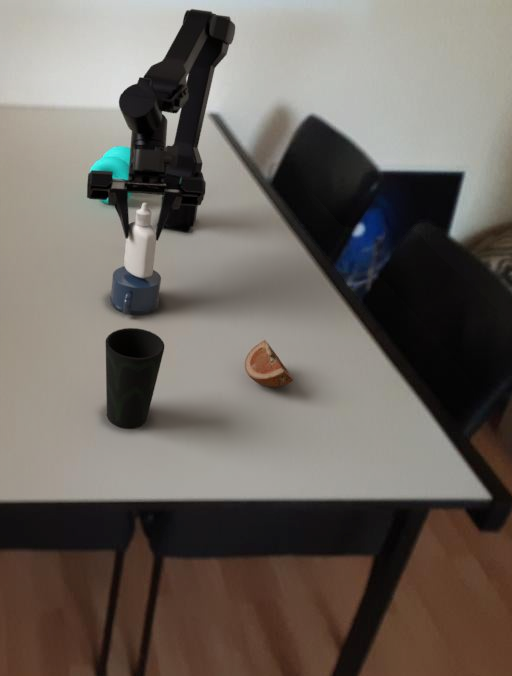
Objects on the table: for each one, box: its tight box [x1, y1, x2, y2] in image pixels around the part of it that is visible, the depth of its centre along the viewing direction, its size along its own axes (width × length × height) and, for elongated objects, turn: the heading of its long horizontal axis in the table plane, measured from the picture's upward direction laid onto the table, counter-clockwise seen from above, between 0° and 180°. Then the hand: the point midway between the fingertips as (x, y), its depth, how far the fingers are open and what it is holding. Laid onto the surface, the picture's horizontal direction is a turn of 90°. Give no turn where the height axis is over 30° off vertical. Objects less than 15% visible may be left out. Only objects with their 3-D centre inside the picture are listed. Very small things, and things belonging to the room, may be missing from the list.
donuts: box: [88, 145, 133, 205], centre depth 178 cm, size 10×10×10 cm
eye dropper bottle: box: [123, 202, 157, 278], centre depth 137 cm, size 4×6×12 cm
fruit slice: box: [244, 339, 294, 387], centre depth 124 cm, size 8×7×5 cm
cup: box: [105, 327, 165, 430], centre depth 114 cm, size 8×8×12 cm
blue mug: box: [109, 265, 162, 316], centre depth 142 cm, size 10×8×5 cm
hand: (141, 238), depth 136 cm, fingers closed on eye dropper bottle, 4 cm apart
